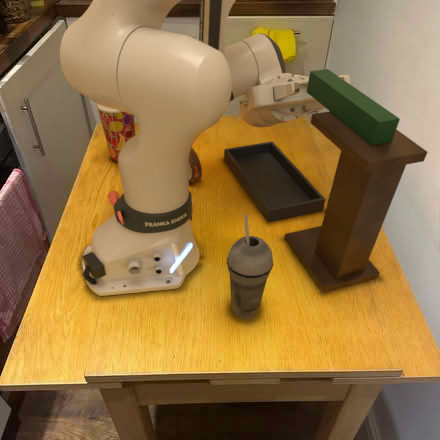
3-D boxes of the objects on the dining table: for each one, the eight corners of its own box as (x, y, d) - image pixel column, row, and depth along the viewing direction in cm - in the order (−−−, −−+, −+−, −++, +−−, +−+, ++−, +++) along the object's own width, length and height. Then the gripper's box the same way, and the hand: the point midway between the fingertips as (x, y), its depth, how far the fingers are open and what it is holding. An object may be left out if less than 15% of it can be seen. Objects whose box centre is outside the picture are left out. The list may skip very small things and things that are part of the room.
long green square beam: (371, 145, 59) (379, 121, 56) (306, 92, 72) (309, 70, 69) (392, 142, 60) (400, 118, 57) (323, 90, 72) (327, 68, 70)
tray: (268, 222, 88) (269, 210, 86) (223, 160, 106) (224, 149, 103) (323, 210, 92) (325, 199, 89) (271, 152, 109) (272, 141, 107)
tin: (203, 185, 97) (203, 153, 91) (192, 190, 96) (191, 157, 90) (172, 158, 106) (169, 126, 99) (161, 161, 104) (158, 130, 98)
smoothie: (108, 149, 108) (93, 68, 93) (140, 148, 109) (130, 67, 94) (106, 166, 102) (89, 82, 88) (139, 165, 103) (128, 81, 88)
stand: (322, 293, 75) (362, 164, 55) (284, 239, 85) (306, 114, 65) (377, 278, 78) (433, 150, 58) (334, 228, 88) (369, 105, 68)
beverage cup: (262, 329, 69) (277, 236, 54) (220, 321, 69) (224, 228, 55) (268, 297, 73) (283, 205, 59) (228, 291, 74) (233, 198, 60)
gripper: (233, 87, 79) (262, 70, 66) (325, 76, 84) (368, 58, 72) (238, 122, 81) (267, 112, 68) (327, 109, 86) (370, 98, 74)
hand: (320, 84), depth 70 cm, fingers open, 8 cm apart
